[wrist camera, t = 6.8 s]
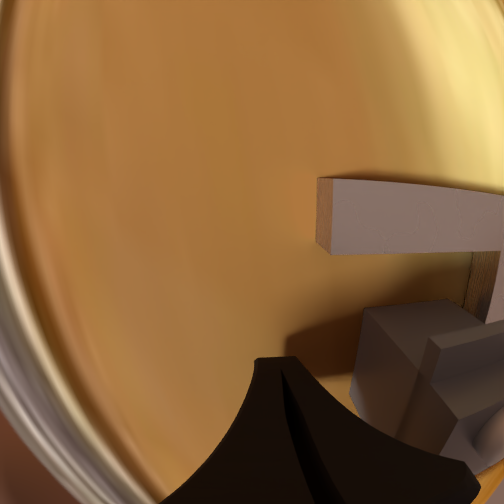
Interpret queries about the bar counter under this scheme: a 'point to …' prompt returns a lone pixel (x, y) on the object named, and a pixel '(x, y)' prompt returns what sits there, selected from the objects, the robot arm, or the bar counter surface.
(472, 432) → the servo block
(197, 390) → the bar counter surface
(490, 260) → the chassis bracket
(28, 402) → the bar counter surface
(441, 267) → the bar counter surface
